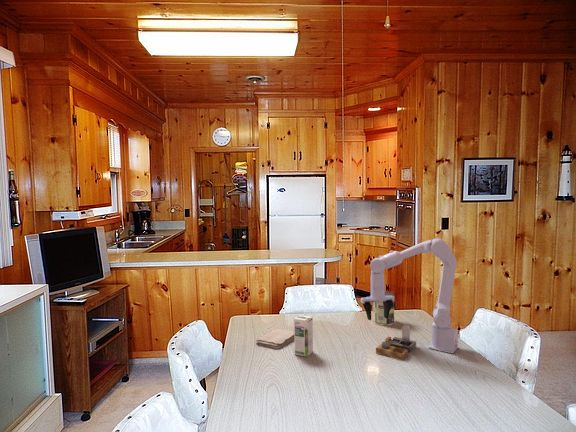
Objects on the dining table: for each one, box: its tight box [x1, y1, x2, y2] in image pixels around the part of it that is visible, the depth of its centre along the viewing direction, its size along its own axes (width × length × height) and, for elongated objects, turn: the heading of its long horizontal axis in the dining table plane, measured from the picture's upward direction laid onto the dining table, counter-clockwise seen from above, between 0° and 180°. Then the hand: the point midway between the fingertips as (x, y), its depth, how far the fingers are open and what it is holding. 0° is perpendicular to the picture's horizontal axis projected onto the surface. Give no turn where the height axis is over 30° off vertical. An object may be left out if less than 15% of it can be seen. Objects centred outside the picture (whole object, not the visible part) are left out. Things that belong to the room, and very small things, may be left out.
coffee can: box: [372, 291, 395, 327], centre depth 187 cm, size 10×10×14 cm
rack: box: [375, 341, 409, 361], centre depth 149 cm, size 11×5×4 cm, turn 52°
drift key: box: [384, 336, 399, 343], centre depth 158 cm, size 5×3×3 cm
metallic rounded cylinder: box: [401, 324, 411, 346], centre depth 155 cm, size 3×3×9 cm
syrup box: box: [293, 314, 314, 358], centre depth 151 cm, size 6×6×14 cm
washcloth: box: [255, 328, 295, 350], centre depth 166 cm, size 12×18×3 cm, turn 150°
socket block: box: [389, 336, 417, 354], centre depth 156 cm, size 9×8×2 cm
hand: (377, 318), depth 162 cm, fingers open, 7 cm apart
